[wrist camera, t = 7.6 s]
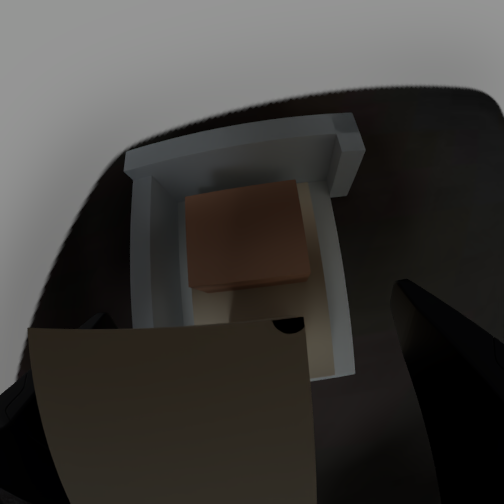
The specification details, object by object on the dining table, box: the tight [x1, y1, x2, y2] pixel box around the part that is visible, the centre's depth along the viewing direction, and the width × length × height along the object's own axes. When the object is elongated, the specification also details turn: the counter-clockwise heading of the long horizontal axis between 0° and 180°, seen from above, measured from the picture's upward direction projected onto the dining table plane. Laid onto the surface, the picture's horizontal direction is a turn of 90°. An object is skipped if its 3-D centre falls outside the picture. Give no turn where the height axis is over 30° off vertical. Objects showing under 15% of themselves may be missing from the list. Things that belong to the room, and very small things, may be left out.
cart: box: [28, 179, 335, 504], centre depth 9 cm, size 9×6×13 cm, turn 6°
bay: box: [124, 113, 366, 381], centre depth 13 cm, size 12×11×5 cm
